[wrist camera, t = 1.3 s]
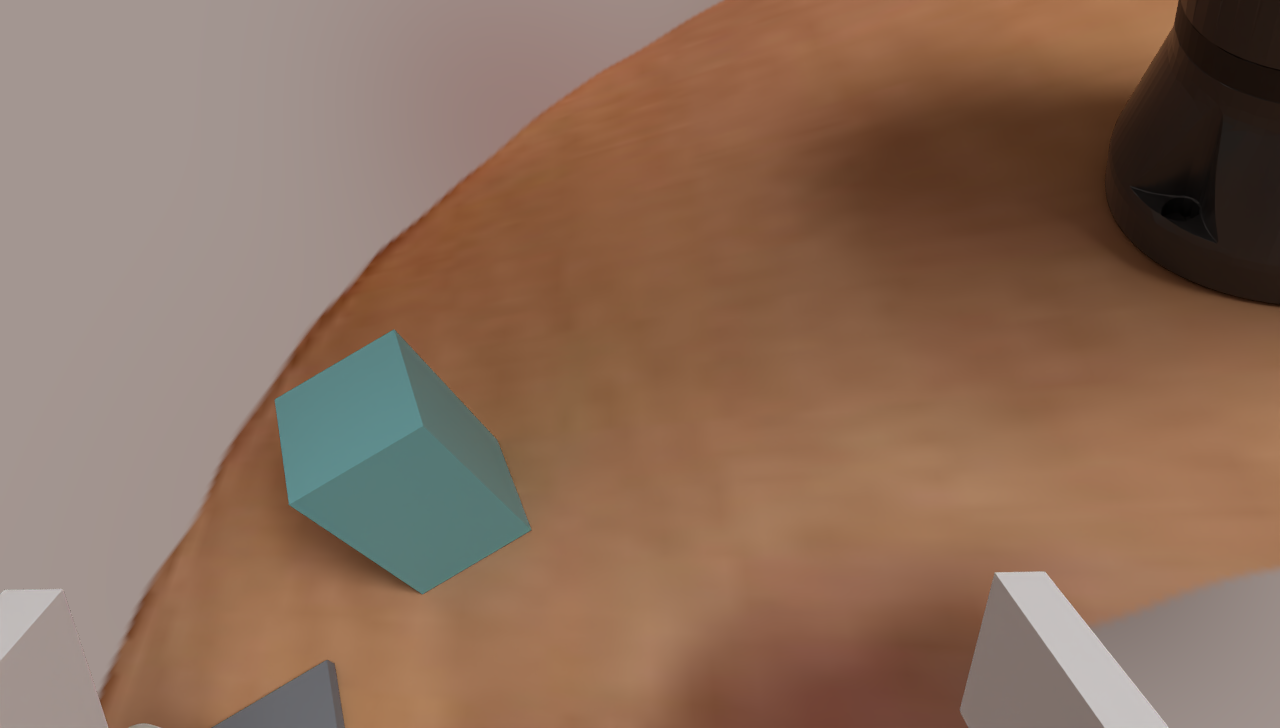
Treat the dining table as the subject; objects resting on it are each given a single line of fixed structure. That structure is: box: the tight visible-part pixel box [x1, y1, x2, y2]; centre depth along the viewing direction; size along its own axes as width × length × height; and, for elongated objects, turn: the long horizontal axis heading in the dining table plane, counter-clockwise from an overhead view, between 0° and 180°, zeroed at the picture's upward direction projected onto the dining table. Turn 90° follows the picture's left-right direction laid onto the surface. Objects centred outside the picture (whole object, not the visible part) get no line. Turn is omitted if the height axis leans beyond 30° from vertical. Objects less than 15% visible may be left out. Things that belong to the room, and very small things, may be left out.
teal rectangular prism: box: [275, 330, 531, 594], centre depth 38 cm, size 6×6×10 cm
